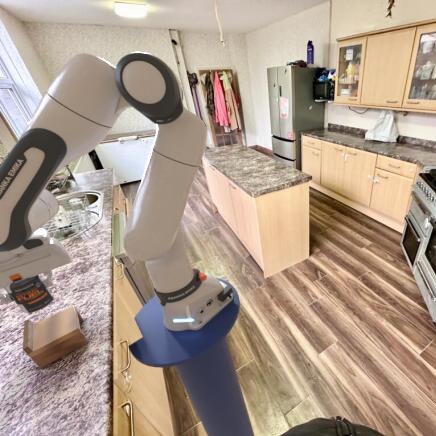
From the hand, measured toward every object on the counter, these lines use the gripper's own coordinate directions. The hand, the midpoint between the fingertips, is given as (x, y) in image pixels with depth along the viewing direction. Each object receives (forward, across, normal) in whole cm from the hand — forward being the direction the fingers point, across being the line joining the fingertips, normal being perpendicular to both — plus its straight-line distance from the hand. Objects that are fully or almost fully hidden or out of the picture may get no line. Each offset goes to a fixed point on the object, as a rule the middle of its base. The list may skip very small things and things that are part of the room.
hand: (31, 293), depth 59 cm
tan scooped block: (+18, -1, 0) cm, 18 cm away
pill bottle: (+4, 0, 0) cm, 4 cm away
